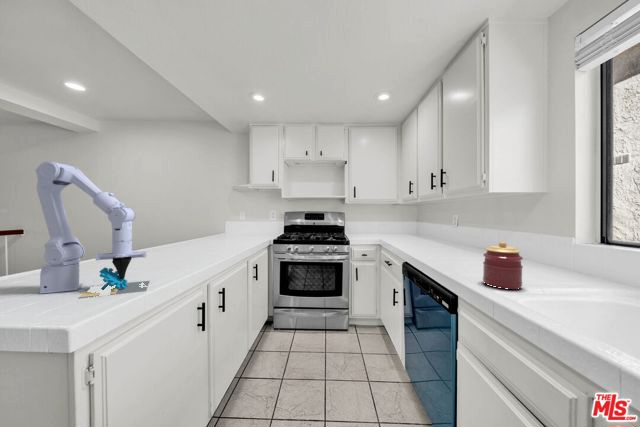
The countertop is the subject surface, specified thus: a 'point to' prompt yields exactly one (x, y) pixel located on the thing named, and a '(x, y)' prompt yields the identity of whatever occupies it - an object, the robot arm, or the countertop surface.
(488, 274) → the canister
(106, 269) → the gear
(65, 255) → the robot arm
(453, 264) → the countertop surface
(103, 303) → the countertop surface
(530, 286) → the countertop surface
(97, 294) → the mat
